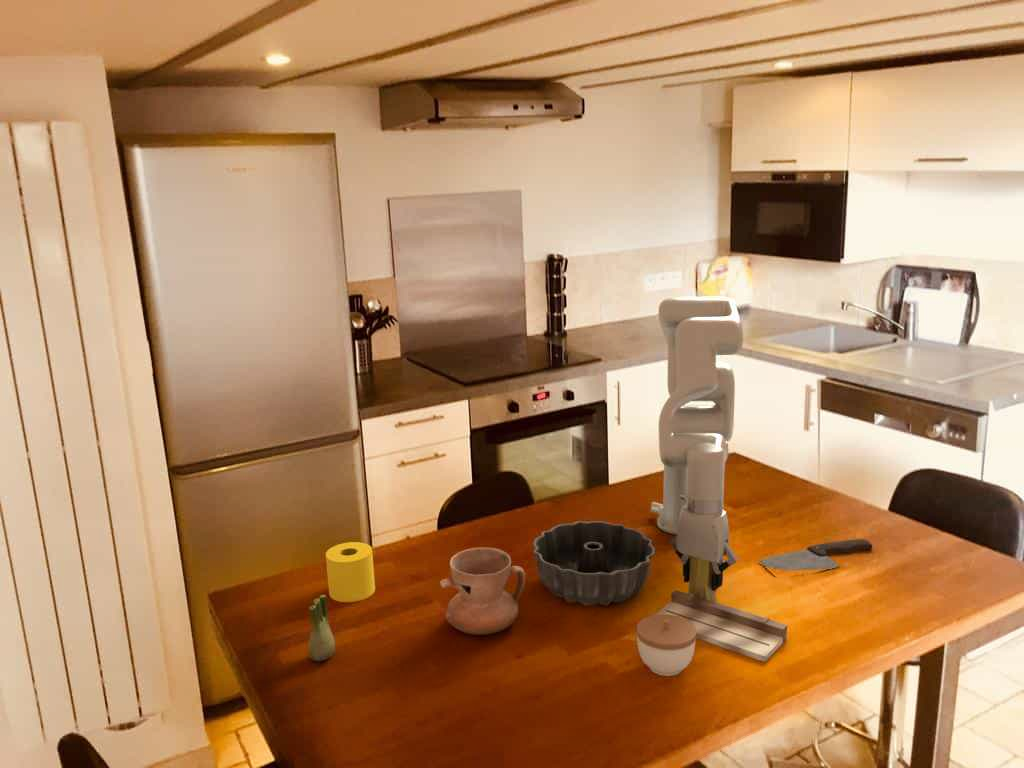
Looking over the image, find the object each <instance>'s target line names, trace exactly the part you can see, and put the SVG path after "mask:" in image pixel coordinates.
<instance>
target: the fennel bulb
mask: <svg viewBox="0 0 1024 768" xmlns="http://www.w3.org/2000/svg"><path fill="white" fill-rule="evenodd" d="M312 604H313V605H310V607H309V608H308V611H309V617H310V618H309V619H310V624H311V626H310V627H311V629H310V630H311V631H310V632H311V633H310V637H309V640H308V656H309V659H311V660H312V661H315V662H322V661H323V662H324V661H326V660H328V659H330V658H331V657H332V656H333V655H334V653H335V650H336V644H335V643H336V642H335V639H334V636H333V633H332V632H333V631H331V627H330V623H329V620H328V613H327V596H326V595H325V594H322V595H319V597H318V598H315V599H314V600H313V601H312Z"/></svg>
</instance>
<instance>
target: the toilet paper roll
mask: <svg viewBox="0 0 1024 768" xmlns="http://www.w3.org/2000/svg"><path fill="white" fill-rule="evenodd" d="M373 556H374V555H373V547H372V546H371V545H369V544H368V543H364V542H360V541H358V542H357V541H352V542H351V541H350V542H344V543H340V544H336V545H334V546H332V547H330V548H329V549H327V551H326V552H325V562H326V563H325V564H326V572H327V573H326V574H327V583H328V584H327V585H328V593H329V597H330V599H332V600H334V601H337V602H340V603H354V602H359V601H362V600H365V599H367V598H369V597H371V596H372V595H373V594H374V593H375V592H376V583H375V569H374V558H373Z"/></svg>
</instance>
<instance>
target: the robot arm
mask: <svg viewBox="0 0 1024 768" xmlns="http://www.w3.org/2000/svg"><path fill="white" fill-rule="evenodd" d="M658 321H659V323H660V327H661V330H662V333H663V335H664V337H665V339H666V344H667V392H668V395H669V397H668V398H667V400H666V401H665V403H664V404H663V407H662V408H661V410H660V415H659V419H658V447H659V448H658V450H659V451H658V452H659V458H660V462H661V463H662V465H663V503H660V502H655V501H652V503H651V504H650V505H651V506H650V513H652V514H658V518H657V519H656V525H657V527H658V529H660V530H661V531H662V532H665V533H668V534H671V535H676V536H675V537H674V538H673V539H672V540H670V541H669V546H671V548H672V549H673V550H674V551H675V554H676V556H677V557H678V558H679V559H680V564H682V576H683V582H684V583H689V570H690V556H692V557H695V558H699V559H702V560H706V561H709V562H712V565H713V568H714V572H713V573H712V580H711V590H712V591H716V592H717V590H718V589H719V588H720V587H722V585H723V583H724V582H723V579H724V571H725V570H727V569H728V568H729V567H731V566H732V565H735V564H736V563H737V562H739V557H738V555H736V553H735V552H734V550H733V549H732V547H731V546H730V532H729V531H730V530H729V522H728V515H727V511H726V510H725V509H724V494H725V493H724V492H725V491H724V490H725V467H726V466H725V464H726V461H727V460H728V458H729V443H728V442H730V441H731V439H732V437H733V434H734V433H733V432H734V425H735V421H734V420H735V397H736V396H735V395H736V393H735V391H736V390H735V389H736V385H735V383H736V382H735V374H734V372H733V369H732V367H731V366H730V365H729V364H728V363H725V362H719V361H717V356H731V355H732V356H735V355H737V354H739V353H740V352H741V351H742V348H743V344H744V332H743V331H744V328H743V322H742V320H741V317H740V314H739V311H738V308H737V305H736V303H735V301H734V299H732V298H731V297H727V296H678V297H677V296H676V297H670V298H667V299H664V300H662V301H661V302H660V304H659V306H658ZM690 402H691V403H692V402H713V404H705V405H704V404H703V405H702V404H701V405H700V404H699V405H698V404H689V403H690ZM725 556H726V557H727V559H726V560H724V557H725Z"/></svg>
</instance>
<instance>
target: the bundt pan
mask: <svg viewBox="0 0 1024 768" xmlns="http://www.w3.org/2000/svg"><path fill="white" fill-rule="evenodd" d="M652 544H653V540H652V539H650V538H647V537H646V535H645V534H644V533H643V532H642V531H640V530H638V529H635V528H630V527H627V526H626V525H624V524H616V523H614V524H613V523H611V522H607V521H601V520H600V521H599V520H598V521H597V520H596V521H580V520H578V521H575V522H573V523H562V524H558V525H556V526H553V527H552V528H550V530H545V531H542V532H541V535H540V536H537V538H535V539H534V540H533V548H534V550H533V555H534V556H535V561H536V566H537V571H538V572H537V573H538V577H539V579H540V581H541V583H542V584H543V585H544V587H546V588H547V589H548V590H549V591H550V593H552V594H553V595H555V596H557V597H560V598H564V599H565V601H566V602H567V603H570V604H571V603H575V602H578V603H579V604H581V605H584V606H591V605H593V606H594V605H595V604H597V603H598V604H601V605H602V606H603V607H607V606H608V605H609V604H610V603H611V602H612V603H621V602H623V601H626V600H627V599H628V598H630V597H634V596H636V595H637V594H639V593H640V592H641V591H642V590H643V586H644V584H645V583H646V581H647V579H648V578H649V577H648V576H649V573H650V568H651V563H652V558H653V557H654V556H655V553H656V549H655V547H654V546H653V545H652Z"/></svg>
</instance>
